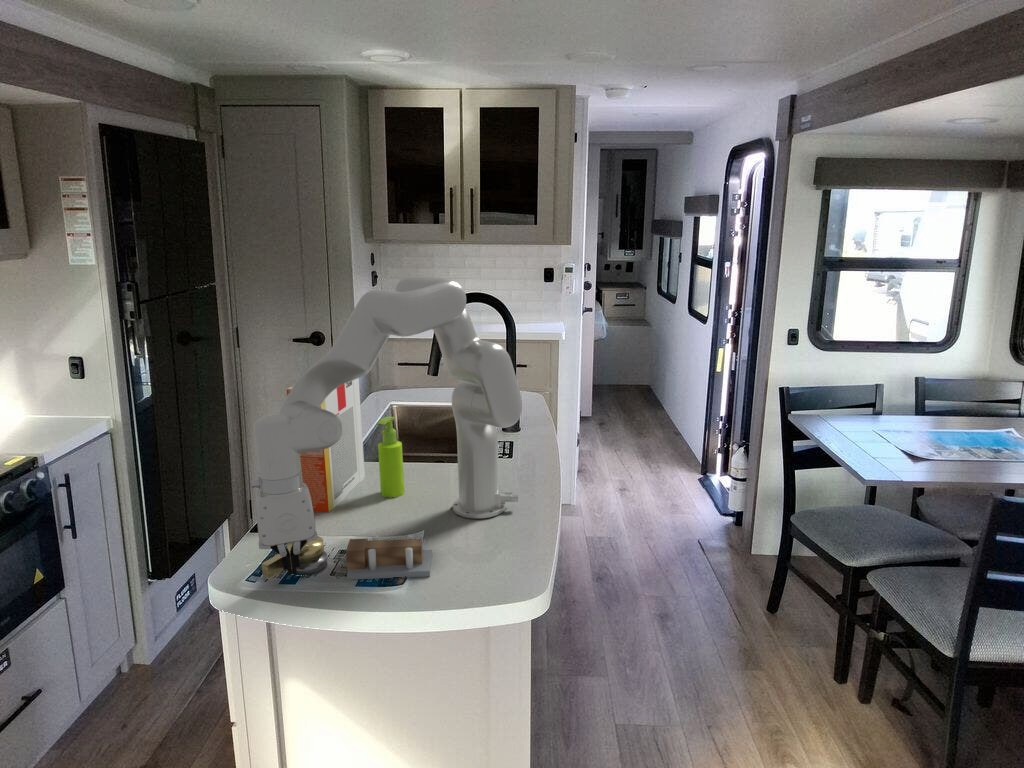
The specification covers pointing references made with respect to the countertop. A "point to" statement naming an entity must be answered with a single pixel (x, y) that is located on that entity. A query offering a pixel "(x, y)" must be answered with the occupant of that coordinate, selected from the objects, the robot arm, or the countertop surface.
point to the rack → (393, 566)
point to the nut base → (312, 566)
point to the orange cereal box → (336, 452)
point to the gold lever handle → (306, 554)
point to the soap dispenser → (390, 461)
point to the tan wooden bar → (382, 552)
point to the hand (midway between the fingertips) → (292, 571)
